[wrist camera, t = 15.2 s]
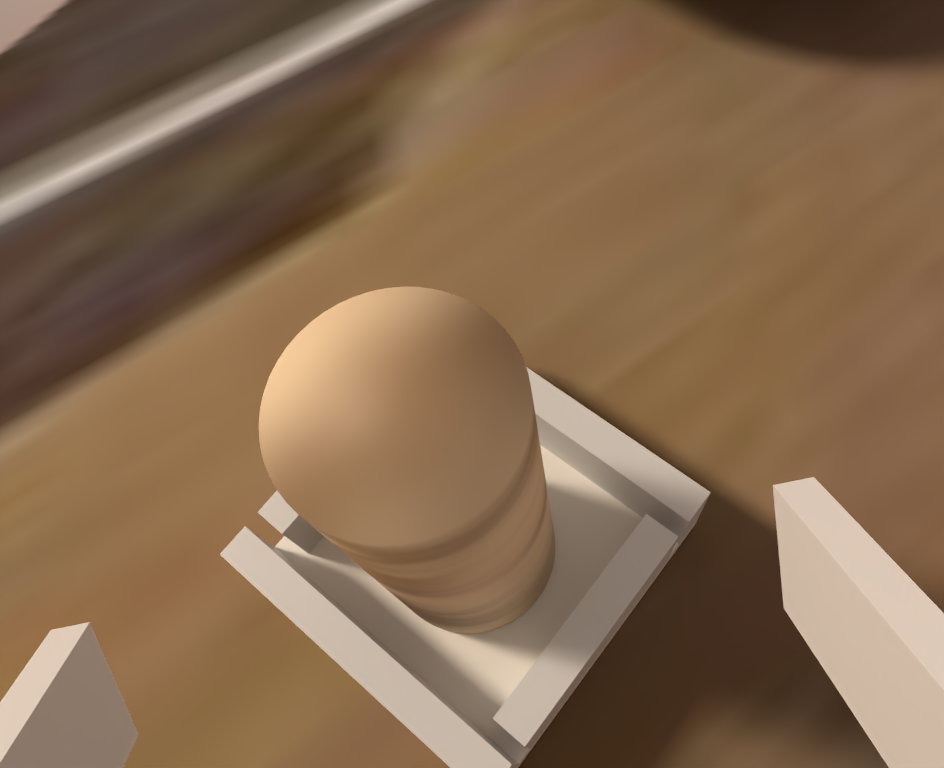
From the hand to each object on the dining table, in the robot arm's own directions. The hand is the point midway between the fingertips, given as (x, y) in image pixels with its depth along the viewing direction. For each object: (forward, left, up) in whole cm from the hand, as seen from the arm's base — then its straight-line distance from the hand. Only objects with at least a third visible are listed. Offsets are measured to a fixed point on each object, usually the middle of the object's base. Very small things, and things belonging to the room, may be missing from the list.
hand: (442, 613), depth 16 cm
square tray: (-4, +3, -14) cm, 15 cm away
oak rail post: (-4, +3, -13) cm, 14 cm away
